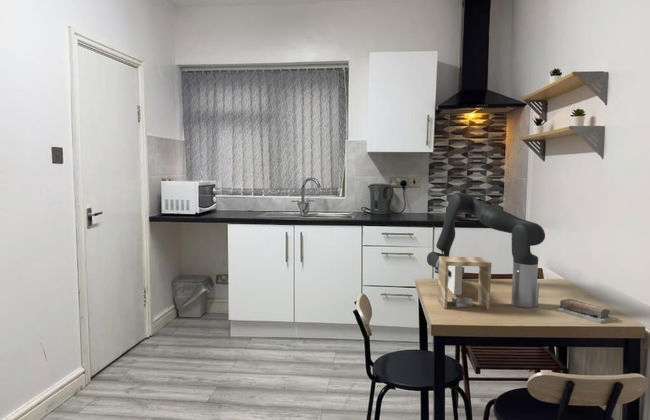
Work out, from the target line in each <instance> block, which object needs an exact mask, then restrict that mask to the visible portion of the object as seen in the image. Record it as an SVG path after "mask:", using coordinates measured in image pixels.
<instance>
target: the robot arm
mask: <svg viewBox="0 0 650 420" xmlns="http://www.w3.org/2000/svg"><path fill="white" fill-rule="evenodd" d="M458 213H460V214H467V215H472V216H474V217H476V218H478V221H479V222H480V223H481V224H483V226H487V228H489V229H493V230H494V231H499V232H501V233H508V234H511V255H512V259H513V260H512V261H513V262H512V279H511V280H512V281H511V298H510V299H511V305H513V306H516V307H519V308H527V309H528V308H529V309H530V308H538V307H539V293H540V292H539V291H540V283H539V282H538V273H539V272H538V270H539V257H538V255H535V254H533V253H532V252H531V247H532V246H538V245H541V244H542V243H543V242H544V241H545V239H546V233H545V230H544V228H543V226H541V225H540V224H538V223H536V222H533V221H529V220H526V219H523V218H520V217H518V216H516V215H513V214H512V213H509V212H507V211H505V210H503V209H502V208H499V207H497V206H494V205H492V204H489V203H486V202H482V201H481V200H479V199H478V198H476V197H475V196H473V195H471V194H469V193H463V192H454V193H453V194H452V195H450V198H449V200H448V204H447V207H446V212H445V216H444V220H443V221H444V222H443V226H442V229H441V232H440V235H439V237H438V240H437V242H436V248H437V249H438V250H439V251H441V252H443V253H440V252H437V251H430V252H429V253H428V254H427V255H426V256H427V257H426V263H427V264H428V265H429V266H431V267H433V268H434V273H435V274H439V256H445V257H450V252H451V248H452V245H453V244H454V241H455V238H456V228H455V227H456V226H455V219H456V217H457V215H458ZM464 274H465V266H462V276H463V275H464ZM448 276H449V277H451V271H450V270H449V269H448Z"/></svg>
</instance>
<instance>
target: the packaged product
mask: <svg viewBox="0 0 650 420" xmlns="http://www.w3.org/2000/svg"><path fill="white" fill-rule="evenodd" d="M556 311H557V312H560V313H563V314H566V315H570V316H574V317H576V318H579V319H584V320H587V321H590V322H594V323H596V324H597V323H598V324H605V323H609V321H610V322H614V321H616V320H617V318H618V317H615V316H612V315H609V314H610V312H611V310H610V309H608V308H605V307H601V306H599V305H595V304H591V303H588V302H583V301H580V300H575V299H572V298H567V299H561V300H560V301H559V307H558V306H557V308H556Z"/></svg>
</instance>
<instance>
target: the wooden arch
mask: <svg viewBox="0 0 650 420" xmlns="http://www.w3.org/2000/svg"><path fill="white" fill-rule="evenodd" d="M448 266H462V267H478V283H477V285H478V286H477V290H478V291H477V303H478V304H480V305H481V306H482V307H483V308H484V309H485V310H487V311H488V310H489V311H490V308H491V307H490V305H491V288H492V287H491V282H492V262H491V261H489V260H488V259H486V258H484V257H482V256H449V257H445V256H439V274H438V273H437V274H438V276H437V277H438V278H437V279H438V280H437V286H438V287H437V302H438V303H439V305H441V307H442V308H443V309H444V310H447V309H448ZM450 301H451V302H452V304H453V305H454V306H456V307H458V308H472V307H473V299H472V298H471V297H452V296H451V299H450Z"/></svg>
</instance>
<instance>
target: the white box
mask: <svg viewBox="0 0 650 420" xmlns="http://www.w3.org/2000/svg"><path fill="white" fill-rule="evenodd" d="M462 267H463V266H448V269H449V270H450V271H451V277H449V276H448V289H449V291H450V292H451V293H452V294H453V295H462V292H463V291H462V288H463V287H462V286H463V283H462V282H463V275H462Z"/></svg>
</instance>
